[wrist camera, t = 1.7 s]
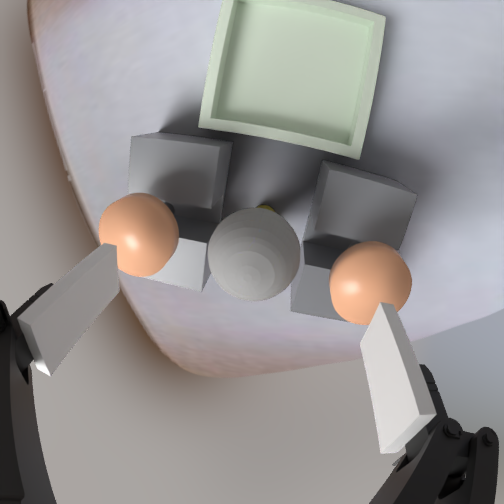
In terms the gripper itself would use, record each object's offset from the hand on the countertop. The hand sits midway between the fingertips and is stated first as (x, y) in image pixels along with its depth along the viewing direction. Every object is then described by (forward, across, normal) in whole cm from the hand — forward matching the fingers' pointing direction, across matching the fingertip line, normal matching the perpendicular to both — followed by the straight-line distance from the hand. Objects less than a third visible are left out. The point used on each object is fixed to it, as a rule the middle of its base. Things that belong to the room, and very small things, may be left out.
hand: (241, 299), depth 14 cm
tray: (+12, 0, +12) cm, 17 cm away
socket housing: (+12, 0, 0) cm, 12 cm away
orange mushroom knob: (+8, +7, 0) cm, 11 cm away
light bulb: (+12, 0, 0) cm, 12 cm away
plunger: (+9, -7, 0) cm, 11 cm away
